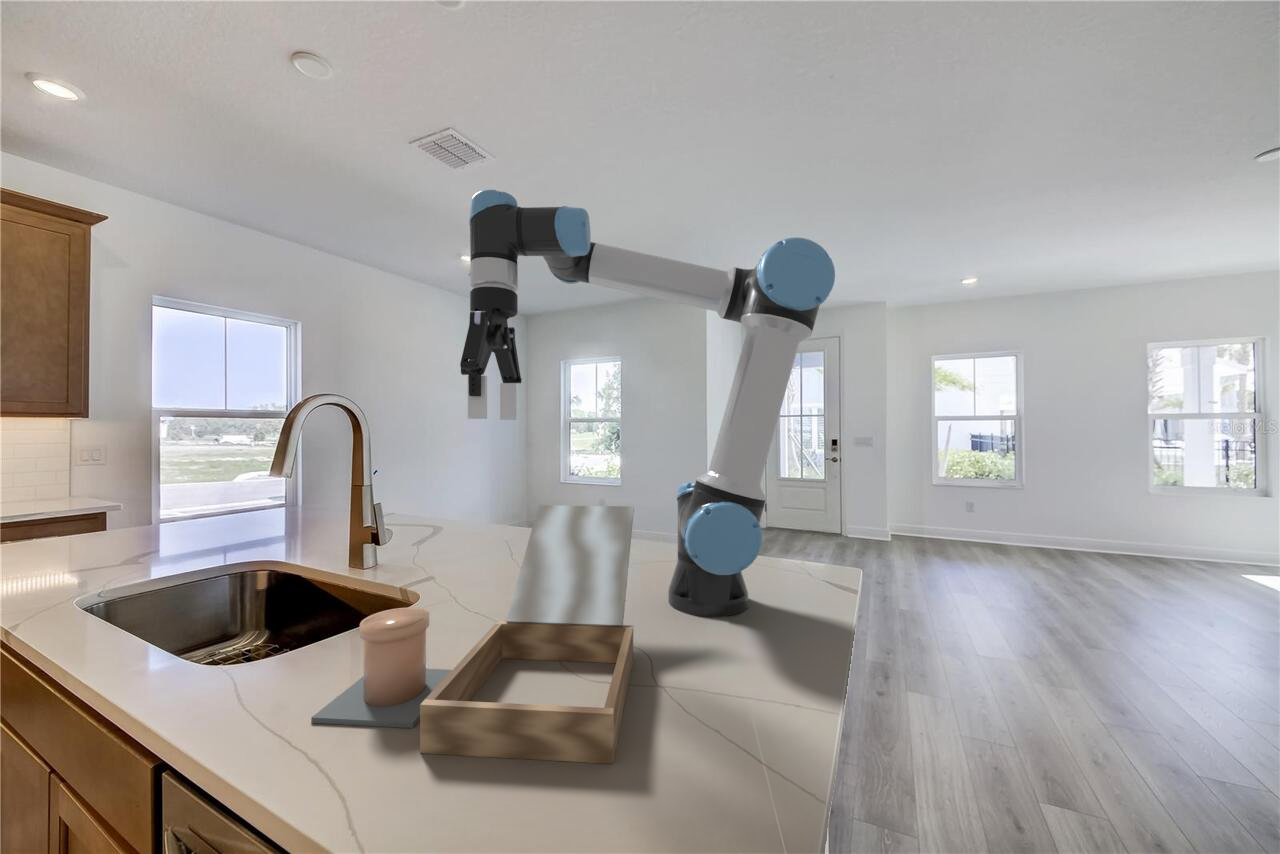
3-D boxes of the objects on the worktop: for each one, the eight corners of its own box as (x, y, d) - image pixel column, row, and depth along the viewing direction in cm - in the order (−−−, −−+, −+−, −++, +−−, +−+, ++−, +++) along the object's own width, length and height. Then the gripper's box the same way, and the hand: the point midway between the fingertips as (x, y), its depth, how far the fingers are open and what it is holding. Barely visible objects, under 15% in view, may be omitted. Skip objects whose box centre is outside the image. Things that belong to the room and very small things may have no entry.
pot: (440, 676, 66) (440, 608, 66) (408, 710, 58) (408, 633, 58) (384, 674, 66) (383, 606, 66) (344, 707, 59) (344, 630, 59)
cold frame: (642, 616, 88) (642, 506, 88) (612, 763, 50) (612, 569, 50) (531, 612, 90) (531, 504, 90) (420, 753, 51) (419, 564, 51)
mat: (460, 674, 68) (460, 670, 68) (412, 728, 56) (412, 722, 56) (375, 670, 69) (375, 666, 69) (311, 722, 57) (311, 717, 57)
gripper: (499, 308, 95) (499, 420, 95) (435, 267, 70) (435, 418, 70) (537, 307, 95) (537, 420, 95) (487, 266, 70) (487, 418, 70)
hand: (494, 419), depth 83 cm, fingers open, 13 cm apart
